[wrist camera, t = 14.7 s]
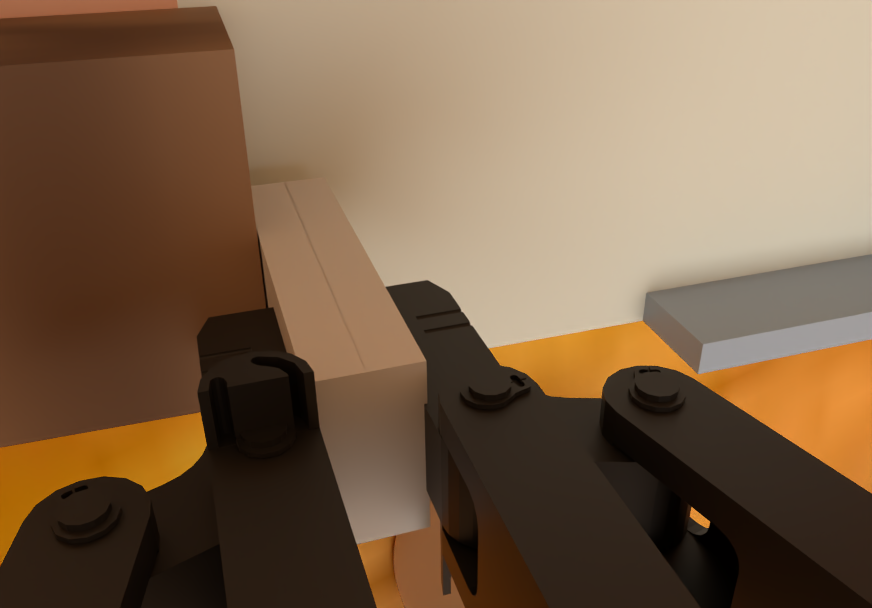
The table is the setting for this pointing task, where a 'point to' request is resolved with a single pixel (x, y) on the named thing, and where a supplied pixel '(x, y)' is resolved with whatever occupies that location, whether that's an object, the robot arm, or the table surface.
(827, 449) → the table surface
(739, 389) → the table surface
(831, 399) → the table surface
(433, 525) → the mug
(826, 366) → the table surface
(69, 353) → the walnut block
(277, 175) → the deck
